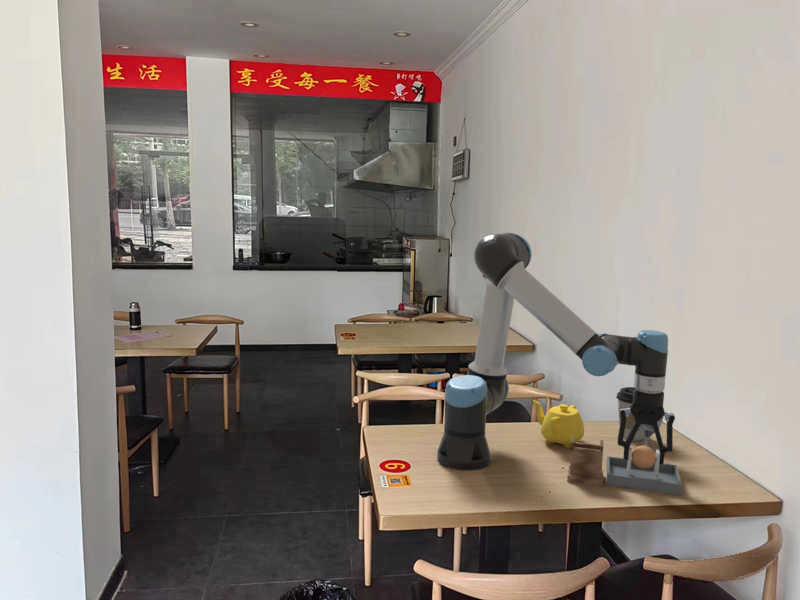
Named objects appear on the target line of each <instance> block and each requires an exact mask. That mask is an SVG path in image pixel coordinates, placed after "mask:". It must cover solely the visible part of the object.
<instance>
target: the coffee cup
mask: <svg viewBox="0 0 800 600" xmlns="http://www.w3.org/2000/svg"><path fill="white" fill-rule="evenodd" d="M634 389H635V387H634V386H627V387H622V388H620V389H619V391H618V392H617V394H616V396H615V397H616V399H617V405H618V419H619V424H620V422H621V414H620V408H624V409H626V408H630V407H631V406H632V403H633V391H634ZM634 420H635V418H634V416H633V415H632V413H629V416H628V417H626V425H625V431H624V438H623V439H625V438H627V436H628V434H629V432H630V430H631V428H632V425H633V423H634ZM642 440H645V438H644V435H643V433H642V432H641V431H640V429H639V428H638V430H637V432H636V434H635V436H634V439H633V441H642Z"/></svg>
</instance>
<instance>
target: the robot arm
mask: <svg viewBox="0 0 800 600" xmlns="http://www.w3.org/2000/svg"><path fill="white" fill-rule="evenodd" d="M473 259H474V263H475V265H476V267H477V269H478V271H480V273H481V274H482V278H483V280H484V281H485V283H486V285H485V286H486V287H485V292H484V298H483V299H484V300H483V304H482V312H481V317H480V322H479V323H480V324H479V329H478V337H477V343H476V349H475V356H474V359H473V361H472V362H470V363H468V367H467V374H466V375H465V374H464V375H463V374H462V375H461V376H459V375H458V376H454V377H453V378H450V379H449V380H448V381H447V382H446V383H445V391H444V420H443V421H444V424H443V425H444V429H443V431H444V432H443V435H442V437H441V441H440V443H439V446H438V448H437V455H436V456H437V457H436V459H437V461H438V462H439V463H440V464H441V465H442V466H444V467H447V468H450V469H454V470H461V471H475V470H480V469H483V468H486V467H487V466H489V465H490V464H491V451H490V447H489V444H488V440H487V437H486V424H487V423H486V422H487V421H486V420H487V418H486V417H487V415H489V414H490V413H492V412H493V411H495V410H497V408H500V407H501V406H502V405H503V404H504V402H505V401H506V399H507V397H508V395H509V389H510V388H509V386H510V385H509V382H508V380H507V377H508V370H507V368H506V367H505V365H504V364H505V356H506V350H507V344H508V339H509V332H510V328H511V327H510V326H511V321H512V316H513V315H512V314H513V310H514V302H515V300H516V302H517V303H519V304H520V305H522V307H523V308H524V309H526V310H527V312H529V313H530V314H531V315H532V316H533V317H534V318H535V319H536V320H538V321H539V322H540V324H542V325H543V326H544V327H545V328H546V329H547V330H548V331H549V332H551V333H552V334H553V336H555V337H556V338H557V339H558V340H560V341H561V343H563V344H564V346H566V347H567V348H568V349H569V350H570V351H571V352H572V353H573V354H574V355H575V356H576V357H578V358H579V359H580V360H581V363H582V366H583V368H584V370H585V371H586V372H587V373H588V374H589V375H591V376H595V377H603V376H607V375H608V374H609V373H611V372H613V371H614V370H615V369H616V366H618V365H624V366H625V365H627V366H634V379H633V381H634V382H633V387H635V389H634V391H633V403H632V406H631V407H630V408H626V409H624V408H620V414H621V422H620V423H619V429H618V436H617V445H618V446H620V447H623V458H624V459H625V460H628V462H627V473H630V471H631V459H632V452H633V447H632V446H631V444H632V443H633V441H634V440H633V439H634V436H635V434H636V432H637V430H638V428H639V426H640V424H648V425H653V428H654V431H655V433H654V435H655V438H656V441H657V445H658V448H659V449H656V450H655V455H656V460H655V470H654V474H655V477H658V472H659V464H663V463H664V462H665V455H666V453H672V452H673V451H674V450H673V447H674V445H673V444H674V443H673V441H674V440H673V425H674V422H675V419H676V417H675V414H674V413H673V412H667V411H665V408H664V401H665V392H664V391H665V388H666V387H665V386H666V375H667V365H668V364H667V363H668V355H669V349H668V348H669V337H668V335H667V334H666V332H664V331H663V332H662V331H659V330H647V329H646V330H645V329H644V330H642V329H641V330H640V331H638V332H637V335H636V336H634V337H633V336H624V335H615V334H608V333H597V332H596V331H595V330H594V329H592V327H590V325H588V324H587V323H586V322H584V321H583V319H582V318H580V317H579V316H578V315H577V314H576V313H575V312H573V310H571V308H569V307H568V306H567V305H566V304H565V303H564V302H563V301H561V300H560V299H559V298H558V297H557V296H556V295H555V294H554V293H553V292H552V291H550V290H549V288H547V287H546V286H545V285H544V284H543V283H541V281H539V280H538V279H537V278H536V277H535V276H533V275H532V274H531V273H530V272H529V271H528V270H527V267H529V264H530V263H531V259H532V247H531V244H530V243H529V242H528V241H527V239H526V238H524V237H523V236H522V235H520V234H517V233H513V232H503V233H492V234H489V235H485V236H484V237H483V238H482V239H480V241H478V243H477V245H476V246H475V249H474V257H473ZM663 408H664V409H663ZM629 413H632V415H633V416H634V418H635V420H634V423H633V425H632V428H631V430H630V432H629V434H628V436H627V438H626V439H625V438H624V431H625V425H626V417H628V416H629ZM662 417H663V418H664V421H665V422H666V445H664V442H663V439H662V438H663V437H662V435H661V431H660V428H659V427H658V424H657V422H658V421H659V420H660V419H661V418H662ZM624 439H625V440H624ZM664 464H665V463H664Z"/></svg>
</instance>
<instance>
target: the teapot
mask: <svg viewBox="0 0 800 600" xmlns="http://www.w3.org/2000/svg"><path fill="white" fill-rule="evenodd" d="M532 401H533V403H534V404H535V406H536V410H537V411H536V412H537V415H536V416H537V418H536V419H537V421H538V424H539V425H540V426H541V427H540V428H541V429H540V432H541V435H542V436H543V439H545V440H546V441H545V443H546V444H548V445H552V444H554V443H556V444H562V446H563V448H565V449H571V446H572V437H575V442H580V440H581V439H582V438H583V437H584V435H585V426H584V421H583V418H582V416H581V413H580V412H579V410H578V409H577V407H576V405H574V404H572V405H570V406H569V405H567V404H564V403H561V404H559V405H556V406H552V407H550V408H549V410H548V411H547V412H546V414H544V411H543V405H542V404H541V402H539V401H537V400H534V399H532Z"/></svg>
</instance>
